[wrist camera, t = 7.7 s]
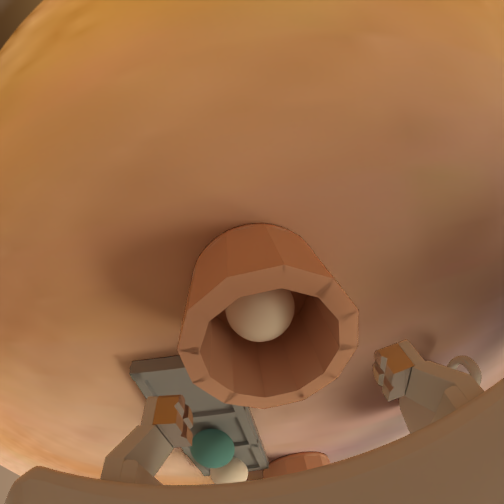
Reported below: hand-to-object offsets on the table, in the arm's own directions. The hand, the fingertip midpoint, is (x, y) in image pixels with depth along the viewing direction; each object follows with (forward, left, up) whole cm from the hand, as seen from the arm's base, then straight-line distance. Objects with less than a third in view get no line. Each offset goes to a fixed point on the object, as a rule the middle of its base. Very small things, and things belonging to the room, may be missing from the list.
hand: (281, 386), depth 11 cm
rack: (+7, +14, -9) cm, 18 cm away
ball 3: (0, 0, -6) cm, 6 cm away
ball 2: (+7, +20, -6) cm, 22 cm away
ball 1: (+7, +14, -6) cm, 17 cm away
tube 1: (0, 0, -9) cm, 9 cm away
